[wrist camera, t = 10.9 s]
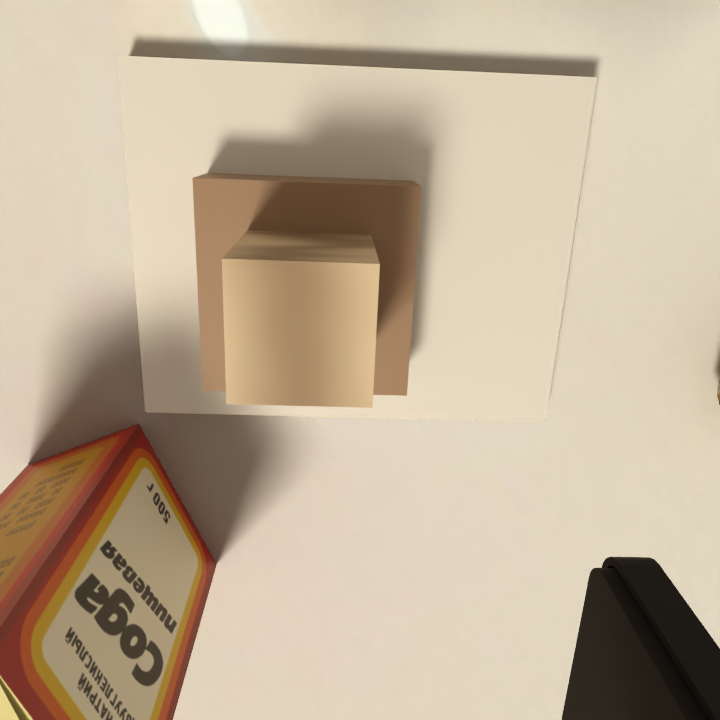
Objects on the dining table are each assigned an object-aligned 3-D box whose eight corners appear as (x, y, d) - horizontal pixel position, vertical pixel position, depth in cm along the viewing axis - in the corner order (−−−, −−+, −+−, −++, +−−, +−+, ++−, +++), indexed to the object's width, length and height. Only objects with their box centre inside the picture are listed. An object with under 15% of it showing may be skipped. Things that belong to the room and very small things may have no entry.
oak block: (371, 234, 26) (379, 264, 21) (365, 351, 28) (372, 407, 22) (247, 230, 26) (221, 258, 20) (249, 347, 28) (226, 403, 22)
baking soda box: (216, 564, 37) (131, 866, 22) (113, 599, 37) (-39, 917, 22) (138, 423, 34) (-24, 662, 19) (28, 465, 34) (-216, 728, 19)
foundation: (584, 79, 29) (627, 71, 24) (537, 409, 34) (565, 449, 30) (127, 59, 28) (89, 46, 24) (153, 400, 33) (126, 440, 29)
